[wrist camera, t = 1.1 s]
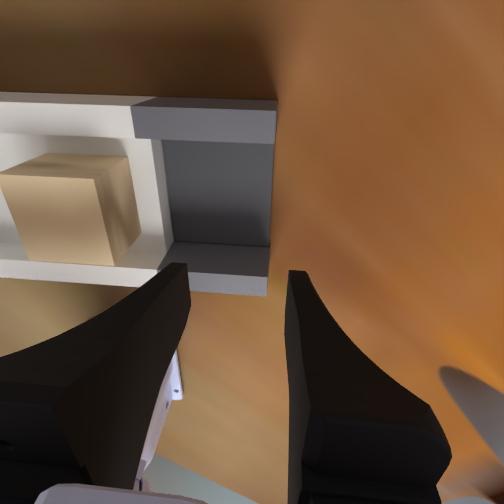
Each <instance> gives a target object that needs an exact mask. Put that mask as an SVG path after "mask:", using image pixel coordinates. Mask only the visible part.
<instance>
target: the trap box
mask: <svg viewBox="0 0 504 504" xmlns="http://www.w3.org/2000/svg"><path fill="white" fill-rule="evenodd" d="M277 113H278V100H250V99H217V98H185V97H152V96H120V95H87V94H55V93H23V92H0V172H1V171H4V170H6V169H9V168H11V167H13V166H16V165H18V164H21V163H23V162H26V161H28V160H30V159H33V158H35V157H38V156H40V155H42V154H45V153H60V154H82V155H105V156H128V159H129V164H130V170H131V176H132V181H133V187H134V192H135V198H136V204H137V209H138V215H139V220H140V226H141V232H142V233H141V234H140V235H139V236H138V238H137V239H136V240H135V241H134V243H133V244H132V245H131V246H130V248H129V249H128V250H127V251H126V252H125V254H124V255H123V256H122V257H121V259H120V260H119V261H118V262H117V264H116V265H115V266H107V265H93V264H78V263H63V262H49V261H34V260H29V258H28V256H27V253H26V250H25V248H24V245H23V243H22V240H21V238H20V235H19V233H18V230H17V228H16V225H15V223H14V220H13V218H12V215H11V213H10V210H9V208H8V205H7V203H6V200H5V198H4V195H3V193H2V190H1V188H0V277H4V278H18V279H32V280H46V281H59V282H73V283H87V284H101V285H115V286H129V287H141V286H142V285H143V284H144V283H146V282H147V281H148V280H150V279H151V278H152V277H153V276H155V275H156V274H157V273H158V272H160V271H161V270H162V269H163V268H165V267H166V266H167V265H169V264H170V263H171V262H175V263H187V268H188V278H189V288H190V291H198V292H212V293H226V294H240V295H253V296H267V285H268V273H269V261H270V245H269V246H253V245H237V244H221V243H204V242H188V241H175V240H174V231H173V223H172V215H171V206H170V198H169V190H168V181H167V173H166V165H165V157H164V148H163V140H186V141H211V142H236V143H261V144H275V137H276V130H277Z"/></svg>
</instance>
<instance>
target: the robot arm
mask: <svg viewBox="0 0 504 504" xmlns="http://www.w3.org/2000/svg"><path fill="white" fill-rule="evenodd" d="M190 307H191V297H190V288H189V278H188V268H187V263H175V262H171V263H170V264H169V265H167V266H166V267H165V268H163V269H162V270H161V271H160V272H158V273H157V274H156V275H155V276H153V277H152V278H151V279H150V280H148V281H147V282H146V283H144V284H143V285H142V286H141V287H139V288H138V289H137V290H135V291H134V292H132V293H131V294H130V295H128V296H127V297H125V298H124V299H122V300H121V301H120V302H118V303H117V304H115V305H114V306H112V307H110V308H109V309H107V310H106V311H104V312H102V313H101V314H99V315H97V316H95V317H94V318H92V319H90V320H88V321H86V322H84V323H82V324H80V325H78V326H76V327H74V328H72V329H70V330H68V331H66V332H64V333H62V334H60V335H58V336H55V337H53V338H51V339H48V340H46V341H44V342H41V343H39V344H36V345H33V346H31V347H28V348H26V349H23V350H20V351H18V352H15V353H12V354H9V355H6V356H3V357H0V504H207V503H206V502H204V501H201V500H197V499H193V498H188V497H184V496H179V495H171V494H162V493H154V492H151V491H150V484H149V481H148V480H147V479H146V478H143V477H142V475H143V472H144V470H145V469H146V467H147V466H148V465H149V463H150V461H151V460H152V458H153V455H154V453H155V450H156V447H157V444H158V441H159V438H160V435H161V432H162V429H163V426H164V423H165V420H166V417H167V414H168V411H169V408H170V405H171V402H172V400H181V399H182V397H183V390H182V383H181V376H180V369H179V363H178V356H177V349H176V348H177V346H178V343H179V341H180V339H181V336H182V334H183V331H184V329H185V326H186V322H187V319H188V315H189V311H190ZM284 335H285V348H286V360H287V371H288V383H289V464H288V504H441V499H440V496H439V493H438V490H437V488H436V484H437V483H438V481H439V480H440V478H441V477H442V475H443V473H444V472H445V470H446V469H447V467H448V466H449V464H450V461H451V458H452V453H451V448H450V445H449V443H448V441H447V438H446V436H445V433H444V431H443V429H442V427H441V425H440V423H439V421H438V420H437V418H436V416H435V414H434V412H433V411H432V409H431V407H430V405H428V404H427V403H426V402H424V401H423V400H421V399H420V398H418V397H417V396H416V395H414V394H413V393H411V392H410V391H408V390H407V389H406V388H404V387H403V386H401V385H400V384H399V383H397V382H396V381H395V380H394V379H392V378H391V377H390V376H389V375H387V374H386V373H385V372H384V371H383V370H381V369H380V368H379V367H378V366H377V365H376V364H375V363H374V362H373V361H371V360H370V359H369V358H368V357H367V356H366V355H365V354H364V353H363V352H362V351H361V350H360V349H359V348H358V347H357V346H356V345H355V344H354V343H353V342H352V341H351V339H350V338H349V337H348V336H347V335H346V334H345V333H344V331H343V330H342V329H341V328H340V326H339V325H338V324H337V322H336V321H335V320H334V318H333V317H332V316H331V314H330V313H329V311H328V310H327V308H326V307H325V305H324V303H323V302H322V300H321V299H320V297H319V295H318V294H317V292H316V290H315V288H314V286H313V284H312V282H311V280H310V278H309V276H308V274H307V273H306V271H296V270H289V275H288V286H287V296H286V307H285V333H284Z"/></svg>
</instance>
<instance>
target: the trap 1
mask: <svg viewBox="0 0 504 504" xmlns="http://www.w3.org/2000/svg"><path fill="white" fill-rule="evenodd" d="M163 148H164V157H165V165H166V173H167V181H168V190H169V198H170V206H171V215H172V223H173V231H174V240H175V241H188V242H204V243H221V244H237V245H253V246H269V234H270V215H271V196H272V177H273V157H274V144H261V143H236V142H211V141H186V140H163Z"/></svg>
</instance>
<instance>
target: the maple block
mask: <svg viewBox="0 0 504 504" xmlns="http://www.w3.org/2000/svg"><path fill="white" fill-rule="evenodd" d="M0 188H1V190H2V193H3V195H4V198H5V200H6V203H7V205H8V208H9V210H10V213H11V215H12V218H13V220H14V223H15V225H16V228H17V230H18V233H19V235H20V238H21V240H22V243H23V245H24V248H25V250H26V253H27V256H28V258H29V260H34V261H49V262H63V263H78V264H93V265H107V266H115V265H116V264H117V262H118V261H119V260H120V259H121V257H122V256H123V255H124V254H125V252H126V251H127V250H128V249H129V248H130V246H131V245H132V244H133V243H134V241H135V240H136V239H137V238H138V236H139V235H140V234H141V233H142V232H141V226H140V220H139V215H138V209H137V204H136V198H135V192H134V187H133V181H132V176H131V170H130V164H129V159H128V156H105V155H82V154H60V153H45V154H42V155H40V156H38V157H35V158H33V159H30V160H28V161H26V162H23V163H21V164H18V165H16V166H13V167H11V168H9V169H6V170H4V171H1V172H0Z"/></svg>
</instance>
